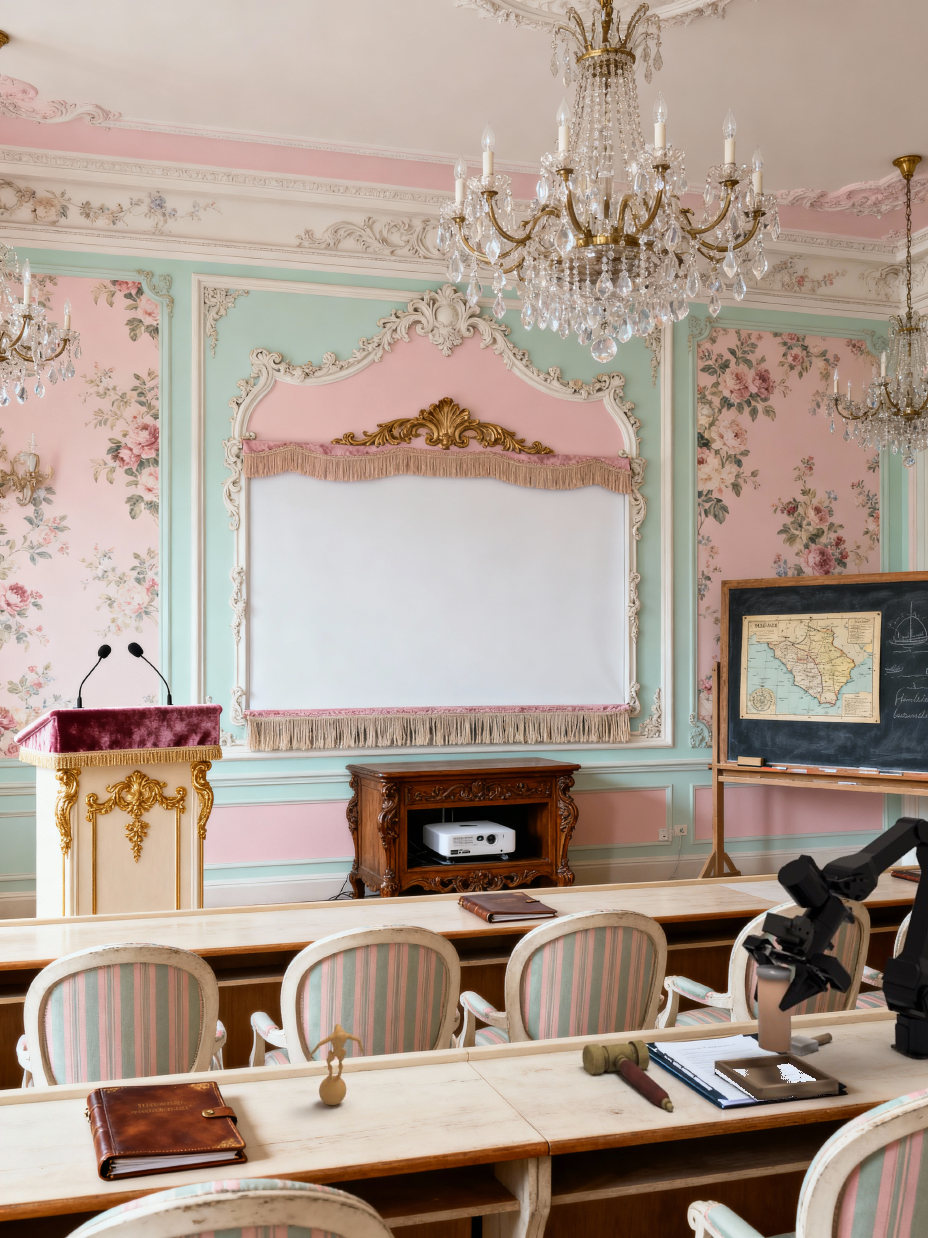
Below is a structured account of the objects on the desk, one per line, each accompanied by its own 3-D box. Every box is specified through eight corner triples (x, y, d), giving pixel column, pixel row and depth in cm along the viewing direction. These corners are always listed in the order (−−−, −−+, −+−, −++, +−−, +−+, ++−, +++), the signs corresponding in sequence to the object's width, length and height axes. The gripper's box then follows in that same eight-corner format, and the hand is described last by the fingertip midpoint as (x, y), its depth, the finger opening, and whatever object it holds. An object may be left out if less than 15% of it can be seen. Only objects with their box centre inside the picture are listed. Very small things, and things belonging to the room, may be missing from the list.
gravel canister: (767, 1039, 168) (766, 963, 169) (799, 1047, 164) (797, 969, 165) (750, 1047, 164) (749, 969, 165) (782, 1055, 161) (781, 975, 161)
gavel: (702, 1089, 153) (641, 1096, 150) (701, 1121, 153) (640, 1128, 150) (637, 1035, 173) (582, 1040, 170) (636, 1063, 173) (581, 1069, 170)
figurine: (355, 1096, 156) (357, 1013, 157) (368, 1110, 151) (369, 1025, 152) (301, 1103, 153) (303, 1019, 154) (311, 1118, 147) (313, 1031, 148)
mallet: (819, 1038, 187) (819, 1029, 187) (838, 1044, 184) (838, 1035, 184) (780, 1049, 180) (780, 1040, 180) (800, 1056, 177) (800, 1046, 177)
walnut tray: (790, 1066, 172) (790, 1053, 172) (838, 1094, 160) (838, 1080, 160) (714, 1073, 168) (714, 1061, 168) (758, 1102, 156) (758, 1088, 156)
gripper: (749, 885, 176) (699, 959, 170) (837, 904, 160) (785, 987, 154) (784, 928, 179) (736, 1002, 173) (873, 951, 163) (824, 1034, 157)
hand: (768, 1005), depth 164 cm, fingers closed on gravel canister, 5 cm apart
